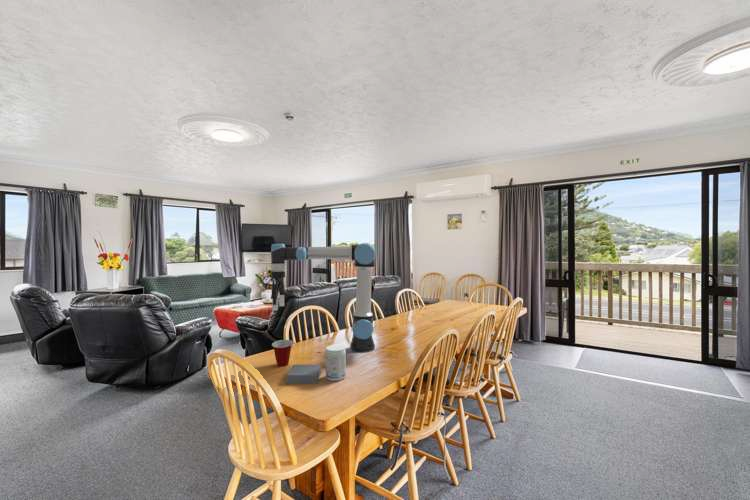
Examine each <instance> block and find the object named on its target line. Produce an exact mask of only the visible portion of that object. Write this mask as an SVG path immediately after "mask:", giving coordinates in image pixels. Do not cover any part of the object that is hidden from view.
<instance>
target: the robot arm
mask: <svg viewBox="0 0 750 500" xmlns="http://www.w3.org/2000/svg"><path fill="white" fill-rule="evenodd" d="M270 249H271V250H270V259H271V260H270V263H271V264H270V267H271V272H270V276H271V277H270V278H271V279H274V280H272V288H271V295H270V299H271V300H272V305H271V306H272V308H271V309H272V311H273V312H275V311H278V309H279V307H285V295H286V290H285V283H284V281H285V280H284V278H286V261H299V262H300V261H306V260H350V261H351V262H352V261H353V262H354V268H355V269H356V289H355V290H356V293H355V311H353V313H352V327H351V329H352V330H351V331H352V339H351V342H350V343H349V344H350V345H349V347H350V348H349V349H350V351H353V352H356V353H368V352H372V351H374V350H375V349H376V345H375V342H374V339H373V338H374V337H373V333H374V329H375V328H374V314H373V312H372V285H373V284H372V280H373V278H372V276H373V275H372V274H373V269H375V266H376V265H375V264H376V262H375V261H376V255H377V254H376V249H375V247H374V246H373V245H372V244H370V243H368V242H363V243H359V244H351V245H350V246H290V247H287V246H286V245H285V244H284V243H273V244H271V247H270Z"/></svg>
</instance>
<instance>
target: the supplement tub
mask: <svg viewBox="0 0 750 500" xmlns="http://www.w3.org/2000/svg"><path fill="white" fill-rule="evenodd" d="M346 352H347V351H346V346H344V345H343V344H342V345H341V344H331V345H328V346H326V347H325V377H326V380H328V381H330V382H331V381H332V382H339V381H342V380H345V378H346V377H347V367H346V366H347V362H346V361H347V359H346V357H347V356H346Z"/></svg>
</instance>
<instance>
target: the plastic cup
mask: <svg viewBox="0 0 750 500" xmlns="http://www.w3.org/2000/svg"><path fill="white" fill-rule="evenodd" d="M293 344H294V343H293V340H291V339H280V340H275V341H274V342H272V343H271V347H272V348H273V352H274V357H275V361H276V366H277V367H287V366H288V365H289V363H290V357H291V351H292V347H293Z"/></svg>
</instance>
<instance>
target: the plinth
mask: <svg viewBox="0 0 750 500" xmlns="http://www.w3.org/2000/svg"><path fill="white" fill-rule="evenodd" d="M321 374H322V364H292V365H291V367H290V369H289V370H288V372H287V374H286V376H285V377H286V378H285V379H286V380H285V381H286V385H305V384H306V385H316V384H317V385H318V382H319V380H320V376H321Z"/></svg>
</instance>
